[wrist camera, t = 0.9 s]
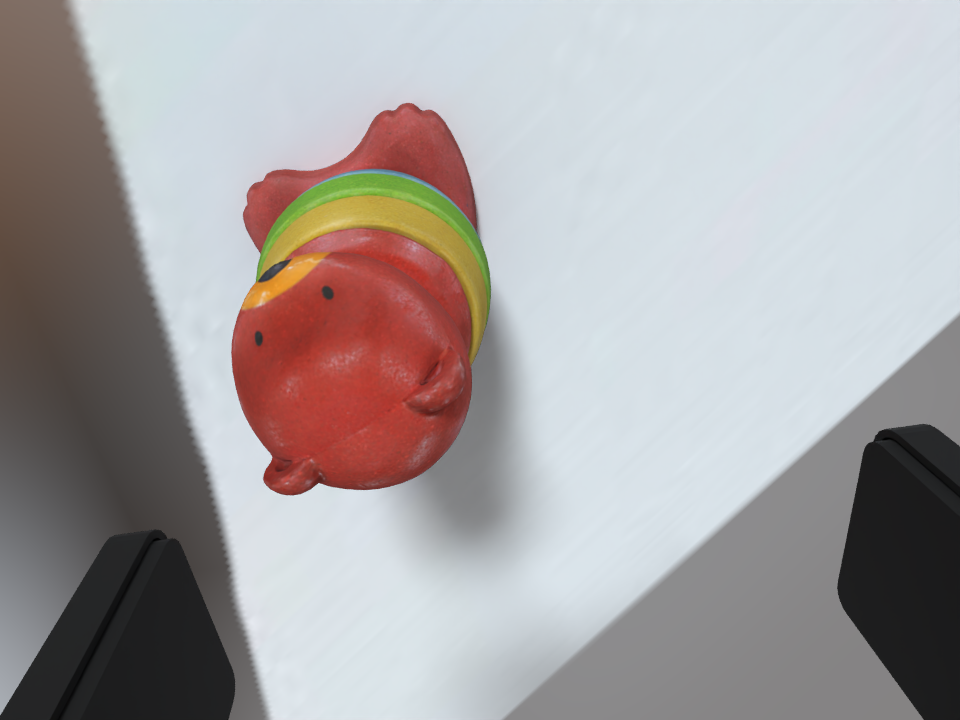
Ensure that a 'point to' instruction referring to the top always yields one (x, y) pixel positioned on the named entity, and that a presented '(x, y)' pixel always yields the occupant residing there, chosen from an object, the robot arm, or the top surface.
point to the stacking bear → (363, 309)
